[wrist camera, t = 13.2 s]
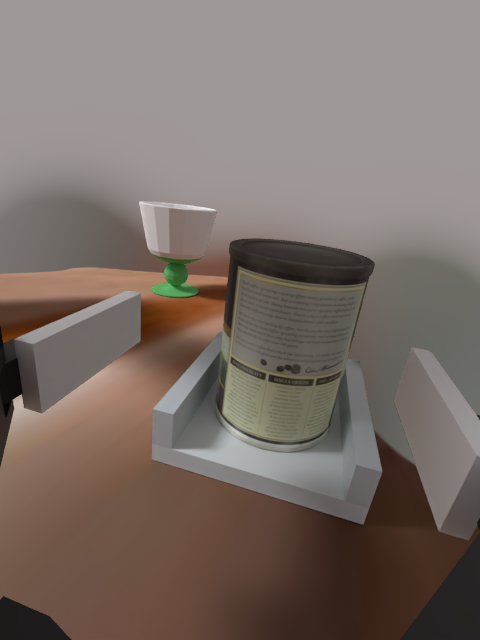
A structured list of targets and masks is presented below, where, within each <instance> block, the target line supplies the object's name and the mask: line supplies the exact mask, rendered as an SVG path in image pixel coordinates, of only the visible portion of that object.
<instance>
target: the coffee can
mask: <svg viewBox="0 0 480 640" xmlns="http://www.w3.org/2000/svg"><path fill="white" fill-rule="evenodd" d="M229 253H230V265H229V276H228V284H227V294H226V304H225V314H224V325H223V335H222V344H221V354H220V364H219V373H218V383H217V394H216V399H215V412H216V415H217V417H218V419H219V421H220V423H221V424H222V425H223V427H224V428H225V429H226V430H228V431H229V432H230V433H231V434H232V435H234V436H235V437H236V438H238V439H240V440H242V441H243V442H246V443H248V444H250V445H252V446H255V447H258V448H261V449H265V450H272V451H277V452H294V451H300V450H305V449H307V448H311V447H313V446H315V445H316V444H318V443H320V442H321V441H322V440H323V439H324V438H325V437H326V436H327V434H328V433H329V430H330V427H331V419H332V415H333V411H334V408H335V404H336V400H337V396H338V393H339V389H340V385H341V382H342V378H343V374H344V371H345V367H346V363H347V360H348V356H349V352H350V348H351V344H352V340H353V337H354V333H355V329H356V325H357V321H358V317H359V314H360V310H361V306H362V302H363V299H364V295H365V291H366V287H367V283H368V279H369V276H370V275H371V274H372V272H373V269H374V265H375V264H374V262H373V261H372V260H370V259H369V258H367V257H364V256H362V255H359V254H356V253H353V252H349V251H345V250H341V249H336V248H331V247H326V246H320V245H314V244H309V243H302V242H293V241H285V240H273V239H241V240H235V241H232V242H231V243H230V248H229Z"/></svg>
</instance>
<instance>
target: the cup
mask: <svg viewBox="0 0 480 640" xmlns="http://www.w3.org/2000/svg"><path fill="white" fill-rule="evenodd" d="M139 204H140V209H141V214H142V220H143V225H144V230H145V235H146V240H147V246H148V248H149V250H150V251H151V253H152V254H153V255H154V256H156V257H157V258H159V259H161V260H163V261H165V262H169V263H170V264H168V265H167V266H166V268H165V271H164V276H165V279H166V280H167V282H168V283H163V284H157V285H155V286H153V287H152V291H153V292H154V293H156V294H159V295H161V296H166V297H175V298H184V297H191V296H195V295H196V294H198V289H196V288H195V287H193V286H190V285H185V284H183V283H184V282H185V281H186V280H187V277H188V270H187V268H186V266H185V265H184V264H187V263H190V262H193V261H196V260H198V259H200V258H202V257H203V255H204V254H205V252H206V249H207V246H208V242H209V238H210V235H211V231H212V228H213V224H214V221H215V217H216V214H217V211H216V210H214V209H210V208H203V207H197V206H190V205H181V204H172V203H162V202H149V201H141V202H139Z"/></svg>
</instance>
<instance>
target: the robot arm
mask: <svg viewBox="0 0 480 640" xmlns="http://www.w3.org/2000/svg"><path fill="white" fill-rule="evenodd" d="M140 341H141V293H138V292H133V291H128V290H127V291H125V292H122V293H120V294H118V295H115V296H113V297H111V298H108V299H106V300H104V301H101V302H99V303H97V304H94V305H92V306H90V307H87V308H85V309H83V310H80V311H78V312H76V313H73V314H71V315H69V316H66V317H64V318H62V319H59V320H57V321H55V322H52V323H50V324H47V325H45V326H43V327H40V328H38V329H36V330H33V331H31V332H29V333H26V334H24V335H22V336H19V337H17V338H15V339H12V340H10V341H8V342H5V343H3V340H2V334H1V328H0V466H1V462H2V457H3V453H4V449H5V445H6V440H7V436H8V432H9V428H10V424H11V419H12V415H13V411H14V405H13V399H15V398H16V397H18V396H19V395H21V394H22V397H23V404H24V408H26V409H29V410H33V411H36V412H39V413H43V412H45V411H46V410H47V409H49V408H50V407H51V406H53V405H54V404H55V403H57V402H58V401H60V400H61V399H62V398H64V397H65V396H66V395H68V394H69V393H71V392H72V391H73V390H75V389H76V388H77V387H79V386H80V385H81V384H83V383H84V382H86V381H87V380H88V379H90V378H91V377H92V376H94V375H95V374H96V373H98V372H99V371H101V370H102V369H103V368H105V367H106V366H107V365H109V364H110V363H111V362H113V361H114V360H116V359H117V358H118V357H120V356H121V355H122V354H124V353H125V352H126V351H128V350H129V349H131V348H132V347H133V346H135V345H136V344H137V343H139V342H140ZM394 403H395V406H396V409H397V412H398V415H399V418H400V421H401V423H402V426H403V429H404V432H405V435H406V438H407V441H408V443H409V447H410V450H411V452H412V455H413V458H414V461H415V464H416V467H417V470H418V473H419V476H420V479H421V482H422V484H423V487H424V490H425V493H426V496H427V499H428V502H429V505H430V508H431V511H432V513H433V516H434V519H435V522H436V525H437V528H438V531H439V532H442V533H445V534H448V535H452V536H455V537H458V538H462V539H465V540H468V541H469V539H470V538H471V536H472V534H473V532H474V530H475V529H476V527H477V525H478V527H479V529H480V416H479V415H476V414H475V413H474V411H473V410H472V408H471V407H470V406H469V404H468V403H467V401H466V400H465V399H464V397H463V396H462V395H461V393H460V392H459V390H458V389H457V387H456V386H455V385H454V383H453V382H452V380H451V379H450V378H449V376H448V375H447V373H446V372H445V371H444V369H443V368H442V366H441V365H440V364H439V362H438V361H437V360H436V358H435V357H434V355H433V354H432V353H431V351H427V350H422V349H417V348H412V349H411V351H410V354H409V357H408V360H407V363H406V366H405V368H404V371H403V374H402V377H401V380H400V382H399V385H398V388H397V391H396V394H395V397H394ZM0 640H71V639H70V638H69V637H68V636H67V635H66V634H65V633H64V631H63V630H62V629H61V628H60V627H59V626H58V625H57V624H56V623H55V622H54V621H53V620H52V619H51V617H50V616H47V615H45V614H43V613H40V612H38V611H36V610H34V609H31V608H29V607H27V606H24V605H22V604H20V603H18V602H15V601H13V600H11V599H8V598H6V597H4V596H3V597H2V598H1V600H0ZM400 640H480V534H479V535H478V536H477V538H476V539H475V540H474V542H473V543H472V544H471V546H470V547H469V548H468V550H467V551H466V552H465V554H464V555H463V556H462V558H461V559H460V560H459V562H458V563H457V564H456V566H455V567H454V568H453V570H452V571H451V572H450V574H449V575H448V576H447V578H446V579H445V580H444V582H443V583H442V584H441V586H440V587H439V588H438V590H437V591H436V592H435V594H434V595H433V596H432V598H431V599H430V600H429V602H428V603H427V604H426V606H425V607H424V608H423V610H422V611H421V612H420V614H419V615H418V616H417V618H416V619H415V620H414V622H413V623H412V624H411V626H410V627H409V628H408V630H407V631H406V632H405V634H404V635H403V636H402V638H401V639H400Z"/></svg>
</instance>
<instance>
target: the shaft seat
mask: <svg viewBox="0 0 480 640" xmlns="http://www.w3.org/2000/svg"><path fill="white" fill-rule="evenodd" d="M222 335H223V332H221V331H220V332H219V333H218V335H217V336H216V337H215V338H214V339H213V340H212V341H211V343H210V344H209V345H208V346H207V347H206V348H205V350H204V351H203V352H202V353H201V354H200V355H199V356H198V358H197V359H196V360H195V361H194V362H193V363H192V365H191V366H190V367H189V368H188V369H187V370H186V371H185V373H184V374H183V375H182V376H181V377H180V378H179V380H178V381H177V382H176V383H175V384H174V385H173V387H172V388H171V389H170V390H169V391H168V392H167V393H166V395H165V396H164V397H163V398H162V399H161V400H160V402H159V403H158V404H157V405H156V406H155V407H154V408H153V434H152V460H155V461H158V462H162V463H165V464H168V465H171V466H175V467H178V468H181V469H184V470H187V471H191V472H194V473H197V474H200V475H204V476H207V477H210V478H213V479H217V480H220V481H223V482H226V483H230V484H233V485H236V486H239V487H242V488H246V489H249V490H252V491H255V492H259V493H262V494H265V495H268V496H272V497H275V498H278V499H281V500H285V501H288V502H291V503H294V504H297V505H301V506H304V507H307V508H310V509H314V510H317V511H320V512H323V513H327V514H330V515H333V516H336V517H340V518H343V519H346V520H349V521H352V522H356V523H359V524H362V525H363V524H364V521H365V518H366V516H367V513H368V510H369V508H370V505H371V502H372V499H373V497H374V494H375V491H376V488H377V486H378V483H379V480H380V477H381V475H382V468H381V463H380V458H379V453H378V448H377V443H376V438H375V434H374V429H373V425H372V419H371V414H370V409H369V405H368V399H367V395H366V390H365V385H364V380H363V375H362V370H361V366H360V361H357V360H352V359H348V360H347V363H346V367H345V371H344V374H343V378H342V382H341V385H340V389H339V393H338V396H337V400H336V404H335V408H334V411H333V415H332V419H331V427H330V430H329V433H328V434H327V436H326V437H325V438H324V439H323V440H322V441H321V442H320V443H318V444H316V445H315V446H313V447H311V448H307V449H305V450H300V451H294V452H277V451H272V450H265V449H261V448H258V447H255V446H252V445H250V444H248V443H246V442H243V441H242V440H240V439H238V438H236V437H235V436H234V435H232V434H231V433H230V432H229V431H228V430H226V429H225V428H224V427H223V425H222V424H221V423H220V421H219V419H218V417H217V415H216V412H215V399H216V394H217V383H218V373H219V364H220V354H221V344H222Z"/></svg>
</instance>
